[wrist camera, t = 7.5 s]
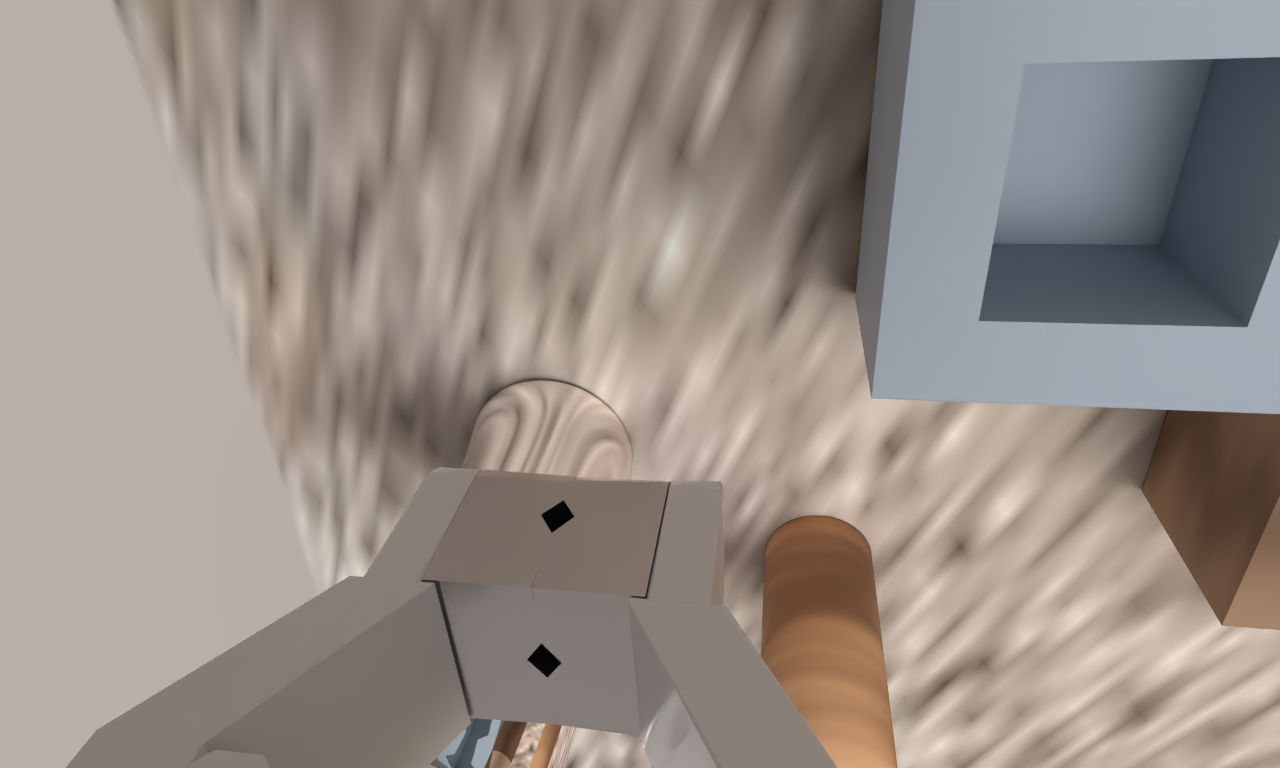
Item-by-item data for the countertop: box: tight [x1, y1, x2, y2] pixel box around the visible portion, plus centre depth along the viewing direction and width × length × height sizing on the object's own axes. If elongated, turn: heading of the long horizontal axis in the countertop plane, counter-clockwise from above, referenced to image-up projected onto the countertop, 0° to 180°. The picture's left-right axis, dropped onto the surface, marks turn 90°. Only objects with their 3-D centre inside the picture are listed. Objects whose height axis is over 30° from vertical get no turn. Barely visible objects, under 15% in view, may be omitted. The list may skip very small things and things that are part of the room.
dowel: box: [761, 516, 897, 768], centre depth 27 cm, size 4×4×10 cm
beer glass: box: [427, 380, 632, 768], centre depth 24 cm, size 7×7×15 cm
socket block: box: [855, 0, 1280, 414], centre depth 19 cm, size 10×10×6 cm
